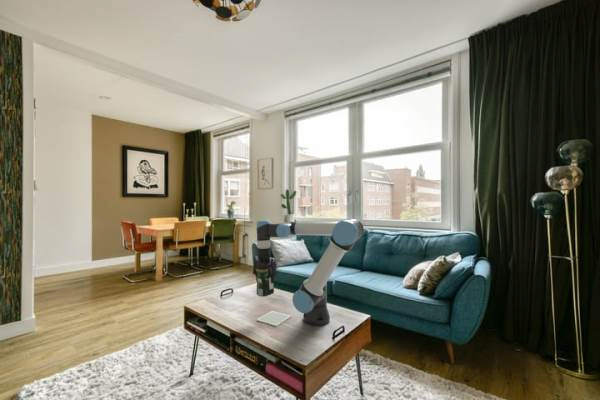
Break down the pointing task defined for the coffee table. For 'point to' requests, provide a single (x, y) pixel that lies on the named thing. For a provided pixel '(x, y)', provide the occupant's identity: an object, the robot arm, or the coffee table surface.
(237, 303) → the coffee table surface
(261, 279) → the coffee jar
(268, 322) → the plate
